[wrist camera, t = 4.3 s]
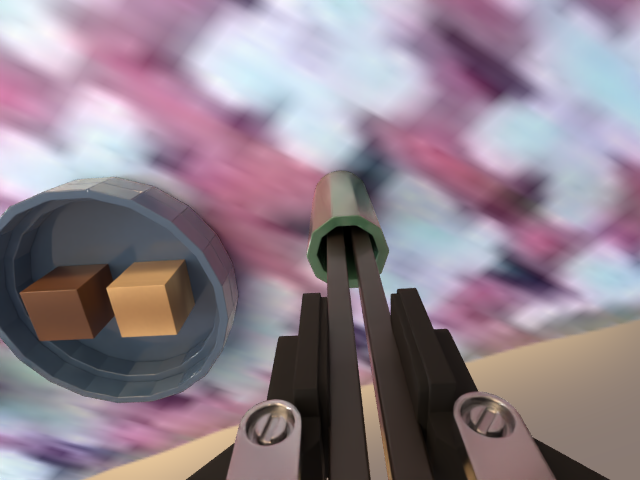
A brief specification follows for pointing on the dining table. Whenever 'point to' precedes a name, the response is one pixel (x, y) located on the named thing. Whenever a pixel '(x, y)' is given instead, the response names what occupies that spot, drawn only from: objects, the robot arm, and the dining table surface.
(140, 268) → the beech block
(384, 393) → the chopsticks
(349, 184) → the holder
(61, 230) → the bowl
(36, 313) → the walnut block
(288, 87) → the dining table surface
